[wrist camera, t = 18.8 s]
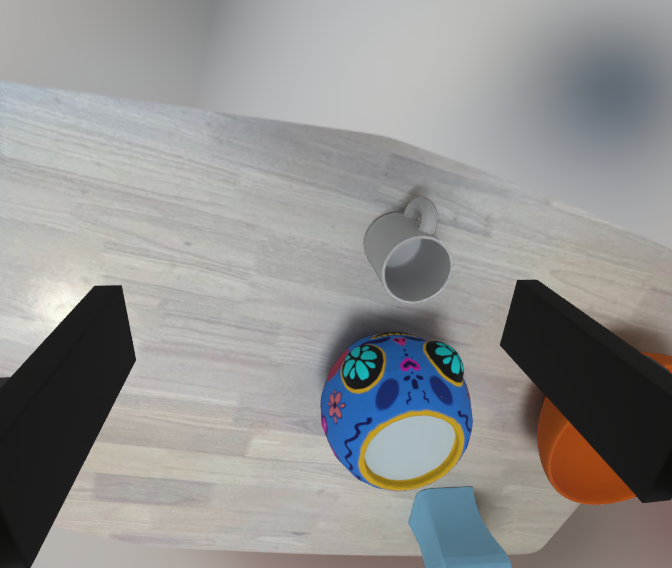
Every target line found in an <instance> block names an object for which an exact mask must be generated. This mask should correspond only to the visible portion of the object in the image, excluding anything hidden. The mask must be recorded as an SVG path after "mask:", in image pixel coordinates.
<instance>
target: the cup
mask: <svg viewBox="0 0 672 568" xmlns="http://www.w3.org/2000/svg"><path fill="white" fill-rule="evenodd" d="M419 213H421V218H422V220H421V223H420V222H418V221H417V220H416V219H417V216H418V215H419ZM437 221H438V212H437V208H436V206H435V204H434V203H433V202H432V201H431V200H430V199H428V198H427V197H416V198H414V199H412V200H411V201H410V202H409V204H408V206H407V207H406V209H405V211H404V213H399V212H396V213H389V214H386V215H384V216H381V217H380V218H379V219H377V220H376V221H375V222H374V223H373V224H372V225H371V226H370V227H369V229H368V231H367V233H366V236H365V241H364V248H365V252H366V255H367V258H368V260H369V262H370V263H371V265H372V267H373V269H374V270H375V272H376V274H377V275H378V277H379V279H380V281H381V282H382V284H383V286H384V287H385V289H386V290H387V292H388V293H389V295H390V296H392V297H393V298H394V299H396V300H398V301H401V302H403V303H410V304H415V303H422V302H425V301H427V300H430V299H432V298H433V297H435V296H436V295H438V294H439V293H440V292H441V291H442V290H443V289H444V288H445V287H446V285H447V283H448V282H449V280H450V278H451V275H452V271H453V259H452V255H451V252H450V251H449V249H448V247H447V246H446V245H445V244H444V243H443V242H441V241H440V240H439V239H438V238H437V237H436V236H435V235H433V234H434V232H435V229H436V225H437Z"/></svg>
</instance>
